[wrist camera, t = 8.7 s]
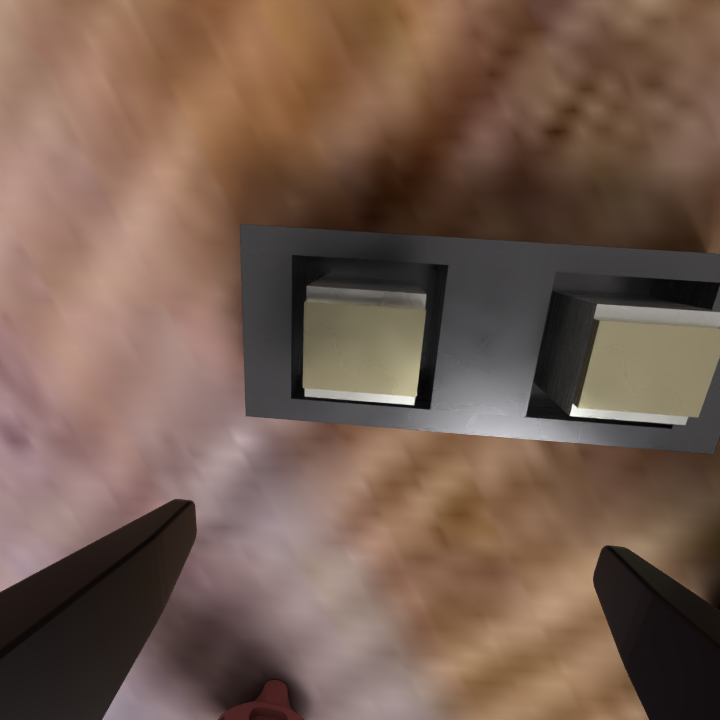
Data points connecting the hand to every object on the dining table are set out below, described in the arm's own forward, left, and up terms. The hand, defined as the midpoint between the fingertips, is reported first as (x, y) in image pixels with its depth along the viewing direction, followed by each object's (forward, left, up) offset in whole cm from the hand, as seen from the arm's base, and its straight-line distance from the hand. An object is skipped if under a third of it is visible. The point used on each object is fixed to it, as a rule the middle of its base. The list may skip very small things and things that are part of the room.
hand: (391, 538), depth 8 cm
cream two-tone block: (+1, -3, -11) cm, 11 cm away
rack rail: (-4, -3, -12) cm, 13 cm away
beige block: (-9, -3, -11) cm, 14 cm away
